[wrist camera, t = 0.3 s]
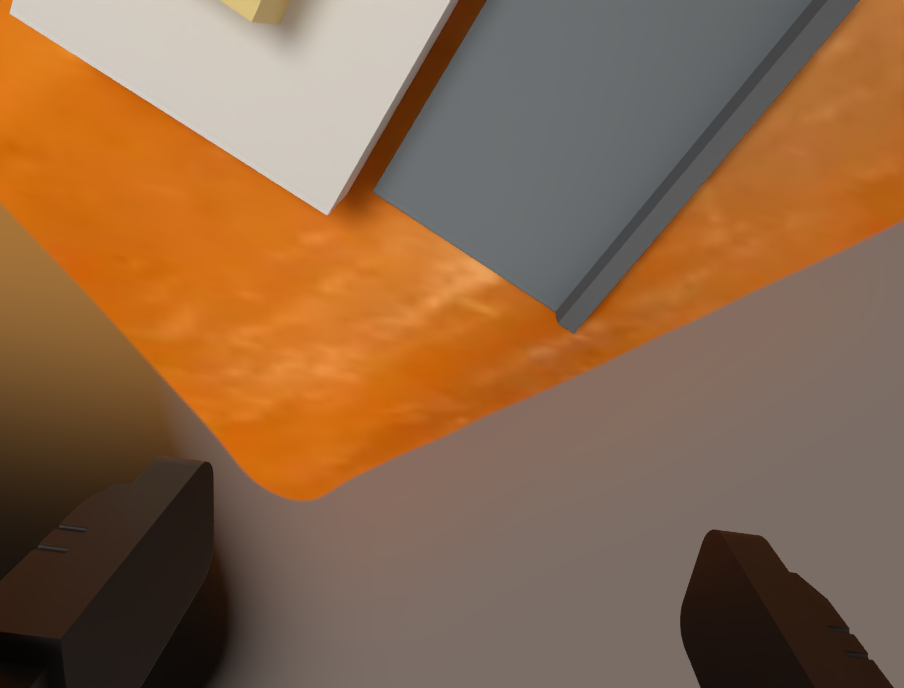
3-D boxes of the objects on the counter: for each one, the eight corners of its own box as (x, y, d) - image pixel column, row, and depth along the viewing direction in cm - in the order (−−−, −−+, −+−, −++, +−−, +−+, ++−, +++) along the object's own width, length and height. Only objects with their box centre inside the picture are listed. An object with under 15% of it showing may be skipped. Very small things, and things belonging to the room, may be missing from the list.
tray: (618, -219, 22) (629, -242, 20) (846, -13, 25) (873, -16, 23) (374, 188, 30) (367, 198, 28) (569, 317, 32) (573, 333, 30)
